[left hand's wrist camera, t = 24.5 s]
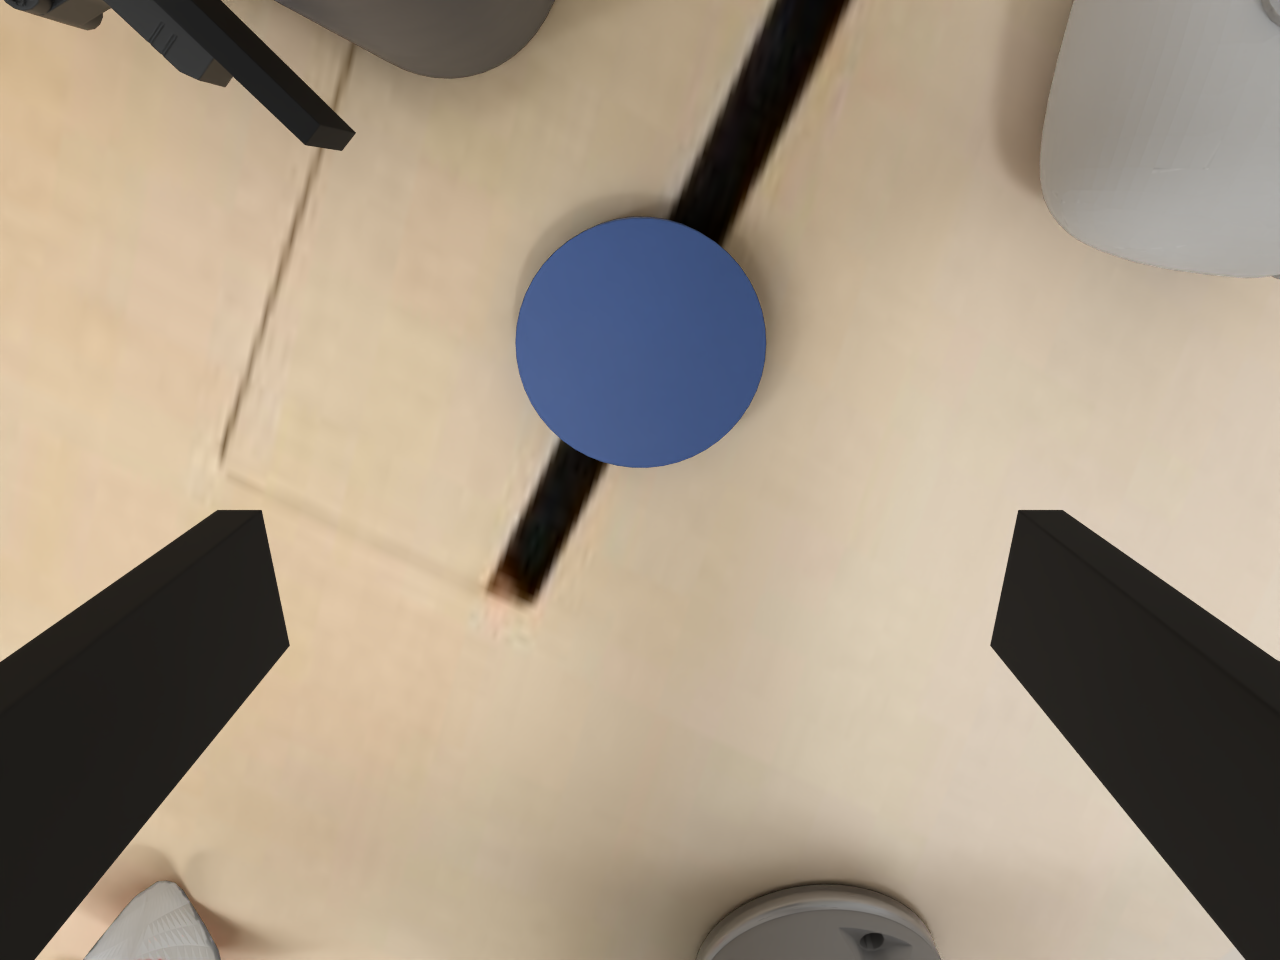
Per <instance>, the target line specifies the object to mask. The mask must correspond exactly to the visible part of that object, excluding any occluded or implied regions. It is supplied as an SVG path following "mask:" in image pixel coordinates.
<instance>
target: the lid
mask: <svg viewBox="0 0 1280 960" xmlns="http://www.w3.org/2000/svg"><path fill="white" fill-rule="evenodd" d="M765 353H766V332H765V324H764V318H763V313H762V309H761V306H760V303H759V300H758V297H757V295H756V293H755V291H754V288H753V286H752V284H751V282H750V280H749V279H748V277H747V276H746V274H745V273H744V271H743V270H742V268H741V267H740V266H739V264H738V263H737V262H736V261H735V260H734V259H733V258H732V257H731V256H730V254H729V253H728V252H726V251H725V250H724V249H723V248H722V247H721V246H719V245H718V244H717V243H716V242H715V241H713V240H711V239H710V238H708V237H707V236H705V235H703V234H702V233H700V232H699V231H697V230H695V229H692V228H690V227H688V226H686V225H684V224H681V223H678V222H674V221H671V220H667V219H662V218H655V217H627V218H619V219H615V220H611V221H607V222H604V223H601V224H598V225H596V226H594V227H592V228H589V229H587V230H585V231H583V232H582V233H580V234H578V235H577V236H575V237H574V238H572V239H570V240H569V241H567V242H566V243H565V244H564V245H562V246H561V247H560V248H559V249H558V250H556V251H555V252H554V253H553V254H552V255H551V256H550V258H549V259H548V260H547V261H546V262H545V263H544V264H543V265H542V267H541V268H540V270H539V271H538V273H537V274H536V275H535V277H534V278H533V280H532V282H531V284H530V286H529V288H528V290H527V292H526V294H525V297H524V300H523V303H522V305H521V308H520V312H519V317H518V322H517V329H516V357H517V363H518V368H519V374H520V377H521V380H522V383H523V386H524V389H525V391H526V393H527V395H528V397H529V400H530V402H531V404H532V405H533V407H534V408H535V410H536V411H537V413H538V415H539V416H540V418H541V419H542V420H543V421H544V422H545V423H546V425H547V426H548V427H549V428H550V429H551V430H552V431H553V432H554V433H555V434H556V435H557V436H558V437H559V438H560V439H562V440H563V441H564V442H566V443H567V444H568V445H570V446H571V447H573V448H574V449H576V450H578V451H579V452H581V453H583V454H585V455H587V456H589V457H591V458H594V459H597V460H599V461H602V462H605V463H609V464H613V465H617V466H624V467H632V468H649V467H657V466H664V465H668V464H673V463H677V462H680V461H682V460H685V459H688V458H690V457H693V456H695V455H697V454H699V453H700V452H702V451H704V450H706V449H708V448H709V447H710V446H712V445H713V444H715V443H716V442H718V441H719V440H720V439H721V438H722V437H723V436H725V435H726V434H727V433H728V432H729V431H730V430H731V429H732V428H733V427H734V425H735V424H736V423H737V422H738V421H739V420H740V419H741V417H742V416H743V414H744V413H745V411H746V410H747V408H748V407H749V405H750V403H751V401H752V399H753V397H754V395H755V393H756V391H757V388H758V385H759V382H760V379H761V376H762V372H763V367H764V362H765Z"/></svg>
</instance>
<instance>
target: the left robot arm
mask: <svg viewBox="0 0 1280 960" xmlns="http://www.w3.org/2000/svg"><path fill="white" fill-rule="evenodd" d="M289 646H290V645H289V640H288V635H287V630H286V625H285V621H284V616H283V611H282V606H281V601H280V596H279V592H278V587H277V582H276V577H275V572H274V568H273V563H272V558H271V553H270V548H269V543H268V539H267V534H266V529H265V524H264V519H263V514H262V510H217V511H215V512H214V513H213V514H211V515H210V516H208V517H207V518H205V519H204V520H203V521H201V522H200V523H198V524H197V525H195V526H194V527H193V528H191V529H190V530H188V531H187V532H185V533H184V534H183V535H181V536H180V537H178V538H177V539H175V540H174V541H173V542H171V543H170V544H168V545H167V546H165V547H164V548H163V549H161V550H160V551H158V552H157V553H155V554H154V555H153V556H151V557H150V558H148V559H147V560H146V561H144V562H143V563H141V564H140V565H138V566H137V567H136V568H134V569H133V570H131V571H130V572H128V573H127V574H126V575H124V576H123V577H121V578H120V579H118V580H117V581H116V582H114V583H113V584H111V585H110V586H108V587H107V588H106V589H104V590H103V591H101V592H100V593H98V594H97V595H96V596H94V597H93V598H91V599H90V600H88V601H87V602H86V603H84V604H83V605H81V606H80V607H78V608H77V609H76V610H74V611H73V612H71V613H70V614H68V615H67V616H66V617H64V618H63V619H61V620H60V621H58V622H57V623H56V624H54V625H53V626H51V627H50V628H48V629H47V630H46V631H44V632H43V633H41V634H40V635H38V636H37V637H36V638H34V639H33V640H31V641H30V642H28V643H27V644H26V645H24V646H23V647H21V648H20V649H18V650H17V651H16V652H14V653H13V654H11V655H10V656H8V657H7V658H6V659H4V660H3V661H1V662H0V960H35V958H36V957H37V956H38V955H39V954H40V952H41V951H42V950H43V949H44V947H45V946H46V945H47V944H48V942H49V941H50V940H51V939H52V938H53V936H54V935H55V934H56V933H57V931H58V930H59V929H60V928H61V926H62V925H63V924H64V923H65V922H66V920H67V919H68V918H69V917H70V915H71V914H72V913H73V912H74V910H75V909H76V908H77V907H78V906H79V904H80V903H81V902H82V901H83V899H84V898H85V897H86V896H87V894H88V893H89V892H90V891H91V890H92V888H93V887H94V886H95V885H96V883H97V882H98V881H99V880H100V878H101V877H102V876H103V875H104V874H105V872H106V871H107V870H108V869H109V867H110V866H111V865H112V864H113V862H114V861H115V860H116V859H117V858H118V856H119V855H120V854H121V853H122V851H123V850H124V849H125V848H126V846H127V845H128V844H129V843H130V841H131V840H132V839H133V838H134V837H135V835H136V834H137V833H138V832H139V830H140V829H141V828H142V827H143V825H144V824H145V823H146V822H147V821H148V819H149V818H150V817H151V816H152V814H153V813H154V812H155V811H156V809H157V808H158V807H159V806H160V805H161V803H162V802H163V801H164V800H165V798H166V797H167V796H168V795H169V793H170V792H171V791H172V790H173V789H174V787H175V786H176V785H177V784H178V782H179V781H180V780H181V779H182V777H183V776H184V775H185V774H186V773H187V771H188V770H189V769H190V768H191V766H192V765H193V764H194V763H195V761H196V760H197V759H198V758H199V757H200V755H201V754H202V753H203V752H204V750H205V749H206V748H207V747H208V745H209V744H210V743H211V742H212V741H213V739H214V738H215V737H216V736H217V734H218V733H219V732H220V731H221V729H222V728H223V727H224V726H225V725H226V723H227V722H228V721H229V720H230V718H231V717H232V716H233V715H234V713H235V712H236V711H237V710H238V709H239V707H240V706H241V705H242V704H243V702H244V701H245V700H246V699H247V697H248V696H249V695H250V694H251V693H252V691H253V690H254V689H255V688H256V686H257V685H258V684H259V683H260V681H261V680H262V679H263V678H264V677H265V675H266V674H267V673H268V672H269V670H270V669H271V668H272V667H273V665H274V664H275V663H276V662H277V661H278V659H279V658H280V657H281V656H282V654H283V653H284V652H285V651H286V649H287V648H288V647H289ZM990 646H991V647H992V648H993V649H994V651H995V652H996V653H997V654H998V656H999V657H1000V658H1001V659H1002V661H1003V662H1004V663H1005V664H1006V665H1007V667H1008V668H1009V669H1010V670H1011V672H1012V673H1013V674H1014V675H1015V677H1016V678H1017V679H1018V680H1019V681H1020V683H1021V684H1022V685H1023V686H1024V688H1025V689H1026V690H1027V691H1028V693H1029V694H1030V695H1031V696H1032V697H1033V699H1034V700H1035V701H1036V702H1037V704H1038V705H1039V706H1040V707H1041V709H1042V710H1043V711H1044V712H1045V713H1046V715H1047V716H1048V717H1049V718H1050V720H1051V721H1052V722H1053V723H1054V725H1055V726H1056V727H1057V728H1058V729H1059V731H1060V732H1061V733H1062V734H1063V736H1064V737H1065V738H1066V739H1067V741H1068V742H1069V743H1070V744H1071V745H1072V747H1073V748H1074V749H1075V750H1076V752H1077V753H1078V754H1079V755H1080V757H1081V758H1082V759H1083V760H1084V761H1085V763H1086V764H1087V765H1088V766H1089V768H1090V769H1091V770H1092V771H1093V773H1094V774H1095V775H1096V776H1097V777H1098V779H1099V780H1100V781H1101V782H1102V784H1103V785H1104V786H1105V787H1106V789H1107V790H1108V791H1109V792H1110V793H1111V795H1112V796H1113V797H1114V798H1115V800H1116V801H1117V802H1118V803H1119V805H1120V806H1121V807H1122V808H1123V809H1124V811H1125V812H1126V813H1127V814H1128V816H1129V817H1130V818H1131V819H1132V821H1133V822H1134V823H1135V824H1136V825H1137V827H1138V828H1139V829H1140V830H1141V832H1142V833H1143V834H1144V835H1145V837H1146V838H1147V839H1148V840H1149V841H1150V843H1151V844H1152V845H1153V846H1154V848H1155V849H1156V850H1157V851H1158V853H1159V854H1160V855H1161V856H1162V858H1163V859H1164V860H1165V861H1166V862H1167V864H1168V865H1169V866H1170V867H1171V869H1172V870H1173V871H1174V872H1175V874H1176V875H1177V876H1178V877H1179V878H1180V880H1181V881H1182V882H1183V883H1184V885H1185V886H1186V887H1187V888H1188V890H1189V891H1190V892H1191V893H1192V894H1193V896H1194V897H1195V898H1196V899H1197V901H1198V902H1199V903H1200V904H1201V906H1202V907H1203V908H1204V909H1205V910H1206V912H1207V913H1208V914H1209V915H1210V917H1211V918H1212V919H1213V920H1214V922H1215V923H1216V924H1217V925H1218V926H1219V928H1220V929H1221V930H1222V931H1223V933H1224V934H1225V935H1226V936H1227V938H1228V939H1229V940H1230V941H1231V942H1232V944H1233V945H1234V946H1235V947H1236V949H1237V950H1238V951H1239V952H1240V954H1241V955H1242V956H1243V957H1244V958H1245V960H1280V661H1278V660H1276V659H1274V658H1273V657H1272V656H1270V655H1269V654H1267V653H1266V652H1264V651H1263V650H1262V649H1260V648H1259V647H1257V646H1256V645H1254V644H1253V643H1252V642H1250V641H1249V640H1247V639H1246V638H1244V637H1243V636H1242V635H1240V634H1239V633H1237V632H1236V631H1234V630H1233V629H1232V628H1230V627H1229V626H1227V625H1226V624H1224V623H1223V622H1222V621H1220V620H1219V619H1217V618H1216V617H1214V616H1213V615H1212V614H1210V613H1209V612H1207V611H1206V610H1204V609H1203V608H1202V607H1200V606H1199V605H1197V604H1196V603H1194V602H1193V601H1192V600H1190V599H1189V598H1187V597H1186V596H1184V595H1183V594H1182V593H1180V592H1179V591H1177V590H1176V589H1174V588H1173V587H1172V586H1170V585H1169V584H1167V583H1166V582H1164V581H1163V580H1162V579H1160V578H1159V577H1157V576H1156V575H1154V574H1153V573H1152V572H1150V571H1149V570H1147V569H1146V568H1144V567H1143V566H1142V565H1140V564H1139V563H1137V562H1136V561H1134V560H1133V559H1132V558H1130V557H1129V556H1127V555H1126V554H1124V553H1123V552H1122V551H1120V550H1119V549H1117V548H1116V547H1115V546H1113V545H1112V544H1110V543H1109V542H1107V541H1106V540H1105V539H1103V538H1102V537H1100V536H1099V535H1097V534H1096V533H1095V532H1093V531H1092V530H1090V529H1089V528H1087V527H1086V526H1085V525H1083V524H1082V523H1080V522H1079V521H1077V520H1076V519H1075V518H1073V517H1072V516H1070V515H1069V514H1067V513H1066V512H1065V511H1063V510H1018V514H1017V519H1016V524H1015V529H1014V534H1013V539H1012V543H1011V548H1010V553H1009V558H1008V563H1007V568H1006V572H1005V577H1004V582H1003V587H1002V592H1001V596H1000V601H999V606H998V611H997V616H996V621H995V625H994V630H993V635H992V640H991V645H990ZM696 960H941V959H940V956H939V954H938V951H937V949H936V946H935V943H934V941H933V938H932V936H931V934H930V932H929V930H928V928H927V927H926V925H925V924H924V923H923V922H922V920H921V919H920V918H919V917H918V916H917V915H916V914H915V913H914V912H912V911H911V910H910V909H909V908H907V907H906V906H904V905H903V904H901V903H900V902H898V901H896V900H894V899H892V898H890V897H888V896H885V895H883V894H880V893H878V892H874V891H871V890H868V889H863V888H858V887H852V886H845V885H807V886H800V887H793V888H789V889H784V890H780V891H777V892H773V893H770V894H767V895H764V896H762V897H759V898H757V899H754V900H752V901H750V902H748V903H746V904H744V905H743V906H741V907H739V908H737V909H736V910H734V911H733V912H731V913H730V914H729V915H727V916H726V917H725V918H724V919H722V920H721V921H720V922H719V923H718V924H717V925H716V926H715V927H714V928H713V929H712V930H711V932H710V933H709V934H708V935H707V937H706V938H705V940H704V942H703V943H702V945H701V947H700V950H699V952H698V955H697V958H696Z"/></svg>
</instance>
